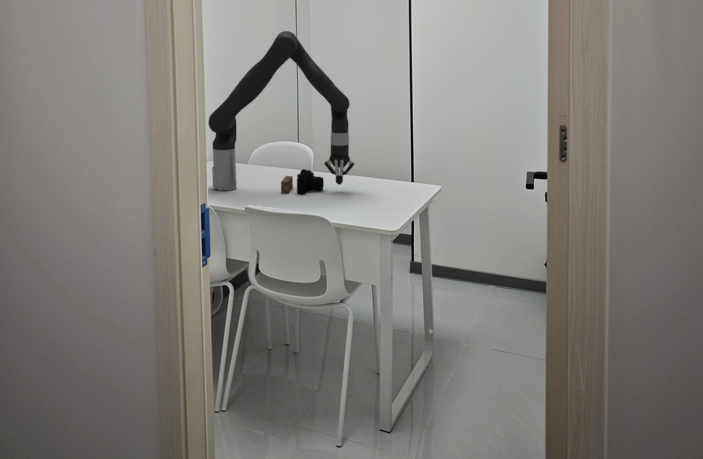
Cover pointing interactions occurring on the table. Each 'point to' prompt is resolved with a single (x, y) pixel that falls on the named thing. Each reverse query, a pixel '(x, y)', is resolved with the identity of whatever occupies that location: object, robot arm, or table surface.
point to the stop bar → (286, 184)
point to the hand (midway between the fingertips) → (339, 184)
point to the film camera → (308, 182)
